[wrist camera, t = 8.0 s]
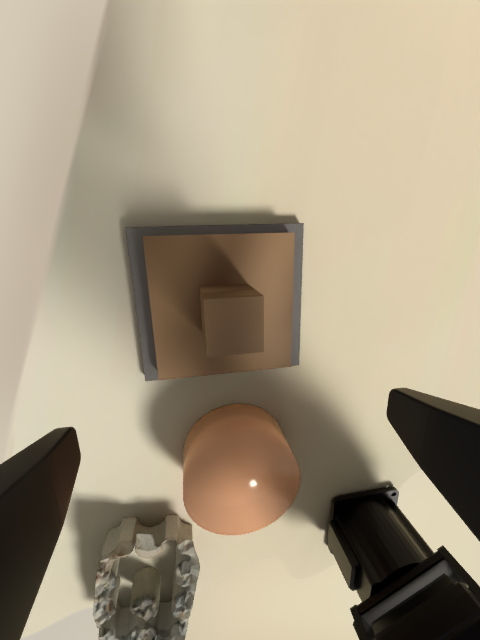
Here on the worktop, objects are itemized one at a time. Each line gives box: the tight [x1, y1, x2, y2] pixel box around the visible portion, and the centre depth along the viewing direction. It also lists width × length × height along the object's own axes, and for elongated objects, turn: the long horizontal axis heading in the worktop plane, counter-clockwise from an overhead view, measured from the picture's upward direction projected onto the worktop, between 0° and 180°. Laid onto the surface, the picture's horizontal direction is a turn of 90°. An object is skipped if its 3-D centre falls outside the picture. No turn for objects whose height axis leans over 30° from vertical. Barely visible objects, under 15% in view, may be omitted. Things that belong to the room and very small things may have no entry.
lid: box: [143, 233, 295, 380], centre depth 17 cm, size 9×9×5 cm
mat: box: [125, 223, 304, 381], centre depth 20 cm, size 11×10×1 cm
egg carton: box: [93, 515, 200, 640], centre depth 24 cm, size 11×8×4 cm
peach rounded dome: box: [183, 404, 300, 535], centre depth 22 cm, size 8×8×4 cm
